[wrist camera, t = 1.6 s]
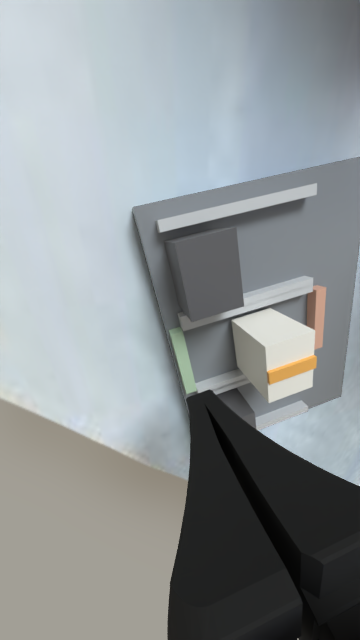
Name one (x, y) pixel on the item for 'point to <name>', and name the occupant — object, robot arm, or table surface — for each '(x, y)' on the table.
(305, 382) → the handle
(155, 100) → the table surface
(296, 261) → the breaker board
